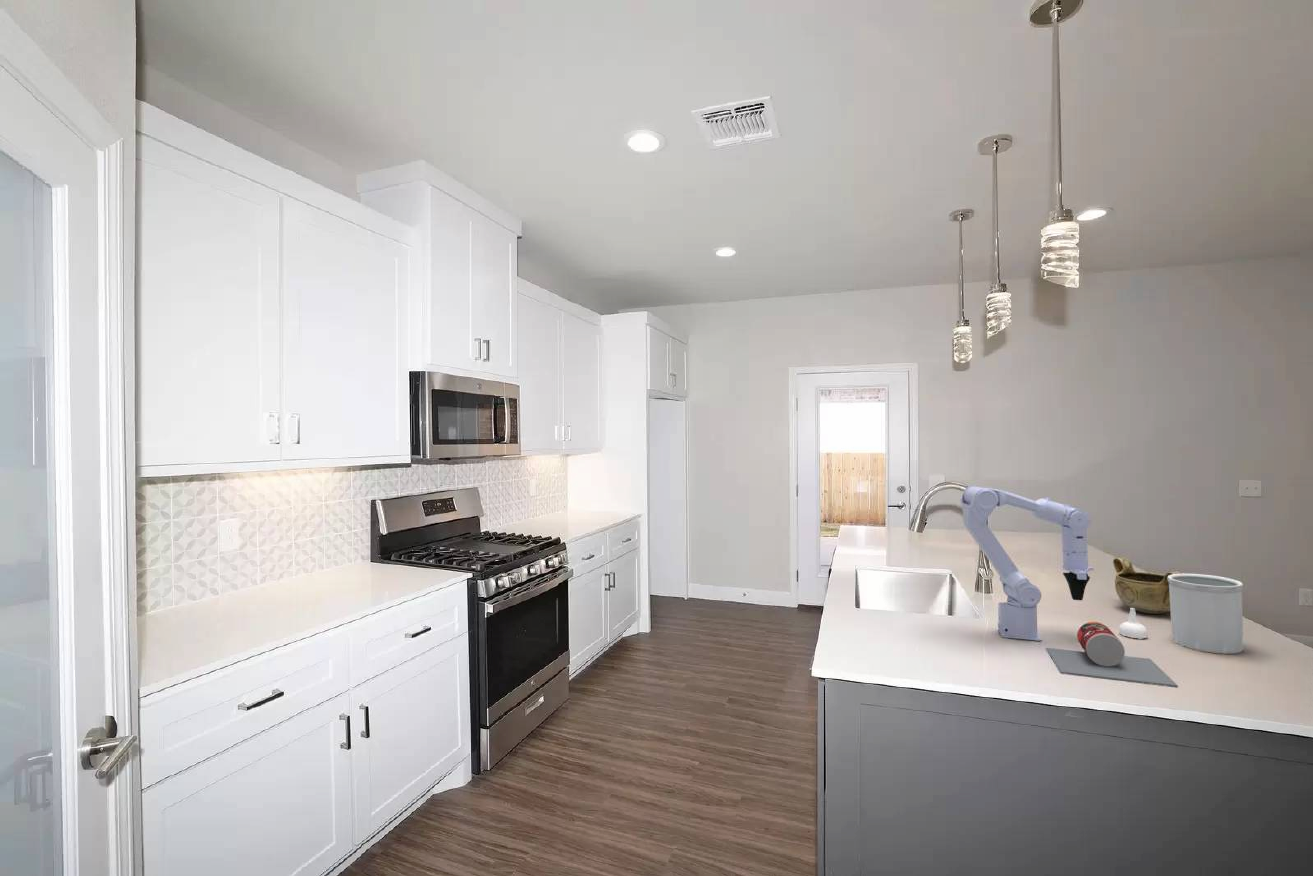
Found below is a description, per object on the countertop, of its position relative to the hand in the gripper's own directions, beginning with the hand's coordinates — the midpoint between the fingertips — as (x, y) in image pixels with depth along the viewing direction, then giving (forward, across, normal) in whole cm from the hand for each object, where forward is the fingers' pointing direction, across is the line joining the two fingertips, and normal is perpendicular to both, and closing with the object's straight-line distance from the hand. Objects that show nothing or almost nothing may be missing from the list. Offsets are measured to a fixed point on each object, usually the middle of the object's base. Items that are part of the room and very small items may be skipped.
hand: (1077, 599), depth 166 cm
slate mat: (+10, -23, -1) cm, 25 cm away
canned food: (+6, -13, -1) cm, 14 cm away
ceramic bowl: (+12, +35, -25) cm, 45 cm away
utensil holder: (+12, +4, -29) cm, 31 cm away
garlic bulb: (+11, +6, -14) cm, 19 cm away
